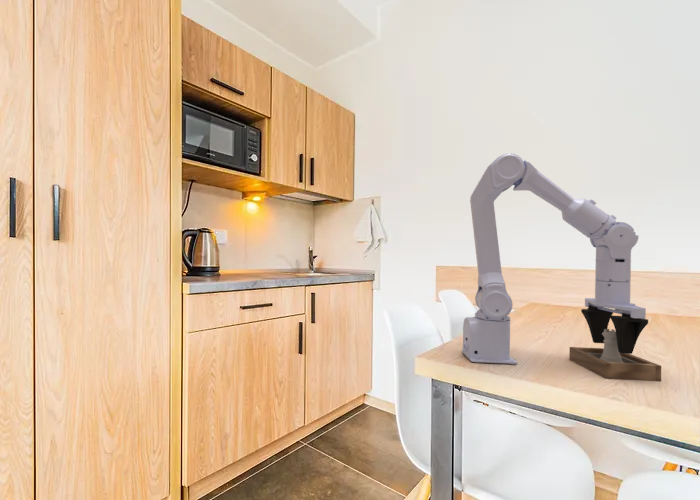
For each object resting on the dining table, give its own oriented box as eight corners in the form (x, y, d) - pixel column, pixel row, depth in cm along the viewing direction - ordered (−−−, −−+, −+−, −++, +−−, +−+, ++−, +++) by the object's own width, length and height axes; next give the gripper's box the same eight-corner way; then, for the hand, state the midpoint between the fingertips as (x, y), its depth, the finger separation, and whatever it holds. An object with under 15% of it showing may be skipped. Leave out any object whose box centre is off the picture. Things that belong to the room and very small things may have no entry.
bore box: (604, 378, 64) (605, 363, 64) (569, 359, 75) (569, 346, 75) (661, 380, 63) (661, 365, 63) (616, 361, 74) (616, 348, 74)
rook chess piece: (630, 374, 66) (630, 333, 66) (603, 371, 67) (604, 331, 68) (618, 367, 71) (618, 328, 71) (593, 365, 72) (594, 327, 72)
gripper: (663, 284, 62) (662, 359, 62) (608, 279, 76) (607, 339, 76) (623, 283, 62) (622, 357, 62) (575, 278, 77) (574, 338, 76)
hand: (611, 347), depth 69 cm, fingers open, 7 cm apart
